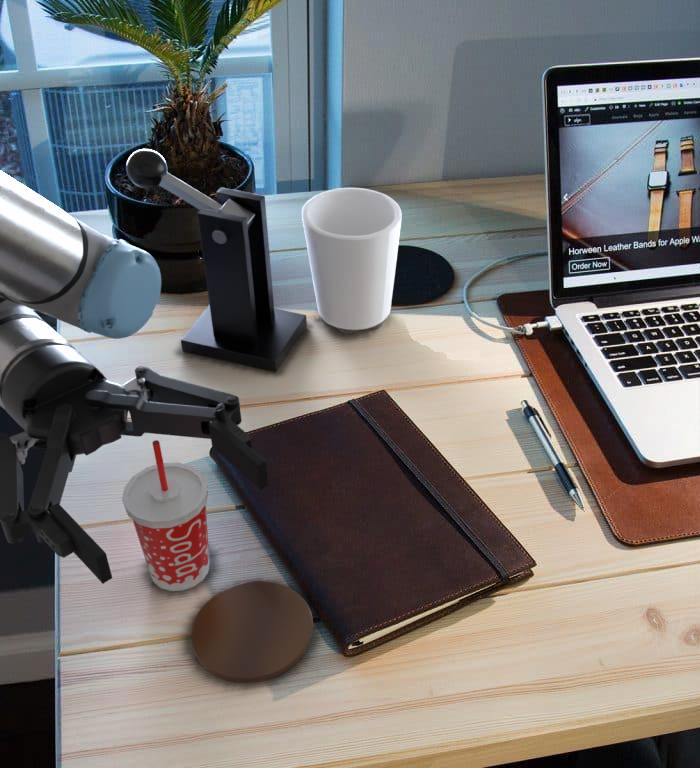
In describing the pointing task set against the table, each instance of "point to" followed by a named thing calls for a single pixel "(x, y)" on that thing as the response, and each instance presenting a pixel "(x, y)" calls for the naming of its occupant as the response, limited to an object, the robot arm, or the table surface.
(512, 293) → the table surface
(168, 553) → the beverage cup
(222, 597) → the coaster
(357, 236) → the cup
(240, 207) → the switch lever
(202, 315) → the switch bracket
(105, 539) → the table surface
